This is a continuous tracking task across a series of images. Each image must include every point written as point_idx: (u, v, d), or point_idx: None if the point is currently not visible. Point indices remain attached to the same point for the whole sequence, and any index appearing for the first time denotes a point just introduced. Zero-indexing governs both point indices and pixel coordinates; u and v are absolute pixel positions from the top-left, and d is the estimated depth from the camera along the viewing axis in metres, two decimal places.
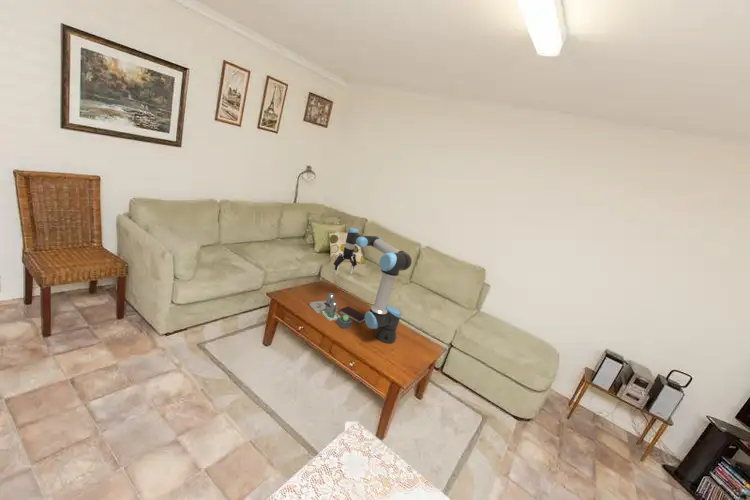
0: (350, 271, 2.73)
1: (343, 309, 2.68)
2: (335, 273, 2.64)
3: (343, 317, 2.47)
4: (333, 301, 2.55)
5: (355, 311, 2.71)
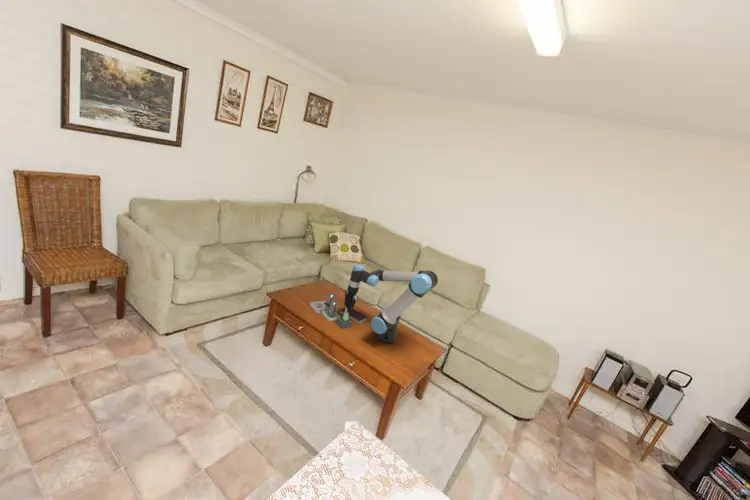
0: None
1: (343, 309, 2.68)
2: None
3: (343, 317, 2.47)
4: (333, 301, 2.55)
5: (355, 311, 2.70)
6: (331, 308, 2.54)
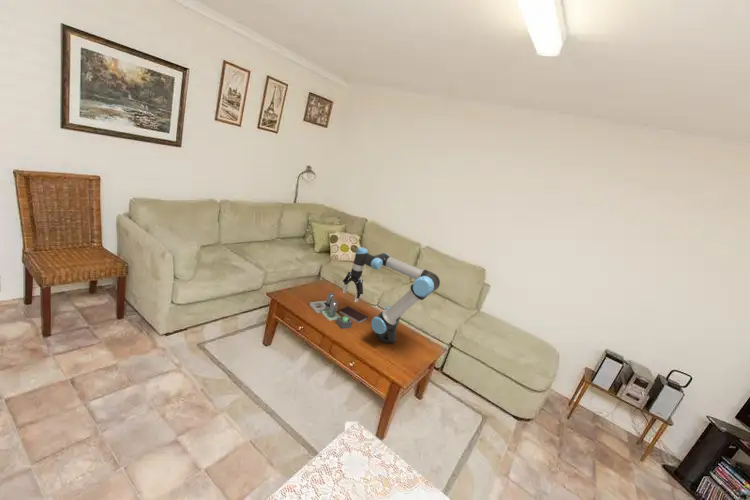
0: None
1: (343, 309, 2.68)
2: None
3: (343, 319, 2.47)
4: (333, 301, 2.55)
5: (355, 311, 2.70)
6: (331, 308, 2.54)
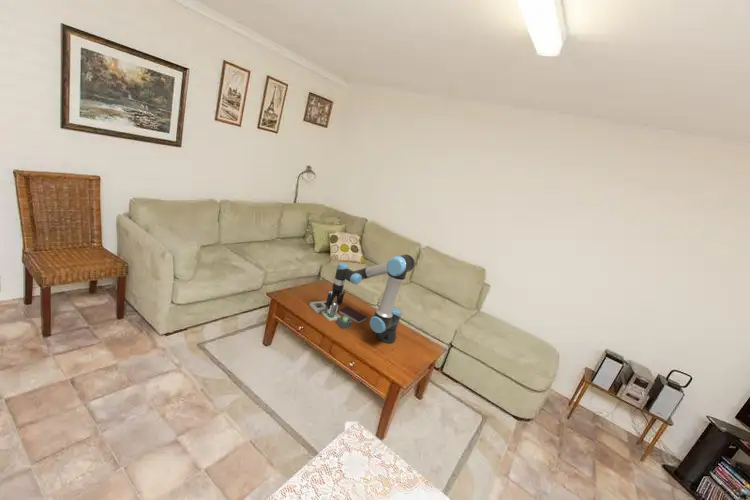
0: None
1: (342, 309, 2.68)
2: (328, 312, 2.55)
3: (343, 319, 2.47)
4: (333, 301, 2.55)
5: (355, 311, 2.70)
6: (331, 308, 2.54)
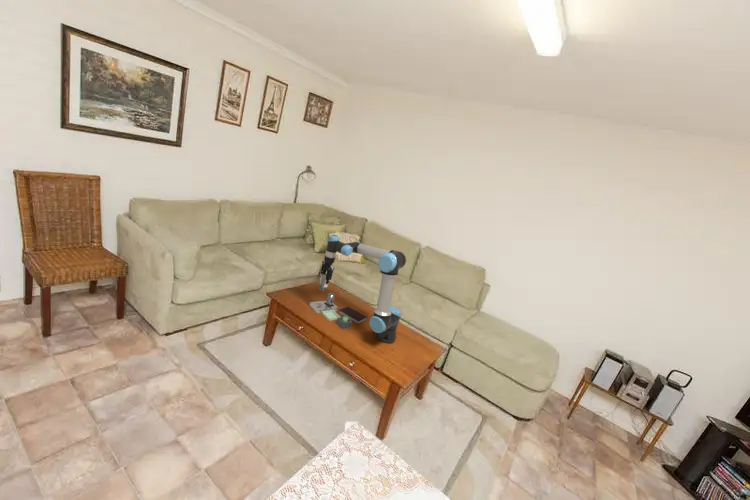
0: None
1: (342, 309, 2.68)
2: None
3: (343, 319, 2.47)
4: (326, 274, 2.57)
5: (354, 311, 2.70)
6: None
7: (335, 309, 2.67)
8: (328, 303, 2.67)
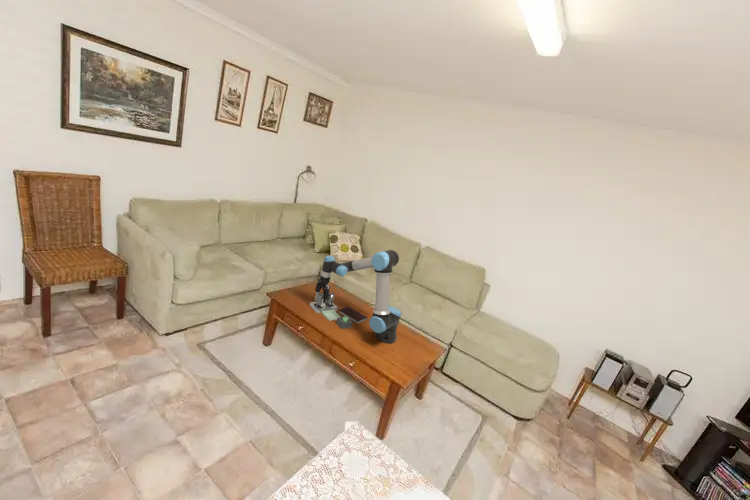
0: None
1: (342, 309, 2.68)
2: None
3: (343, 319, 2.47)
4: (321, 294, 2.62)
5: (354, 312, 2.70)
6: None
7: (335, 309, 2.67)
8: (328, 303, 2.67)
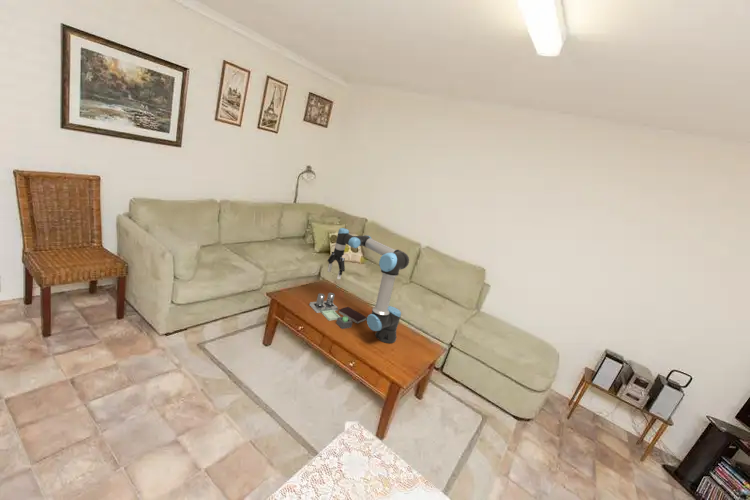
0: None
1: (342, 309, 2.68)
2: None
3: (343, 319, 2.47)
4: (321, 294, 2.62)
5: (354, 312, 2.69)
6: None
7: (335, 309, 2.67)
8: (328, 303, 2.67)
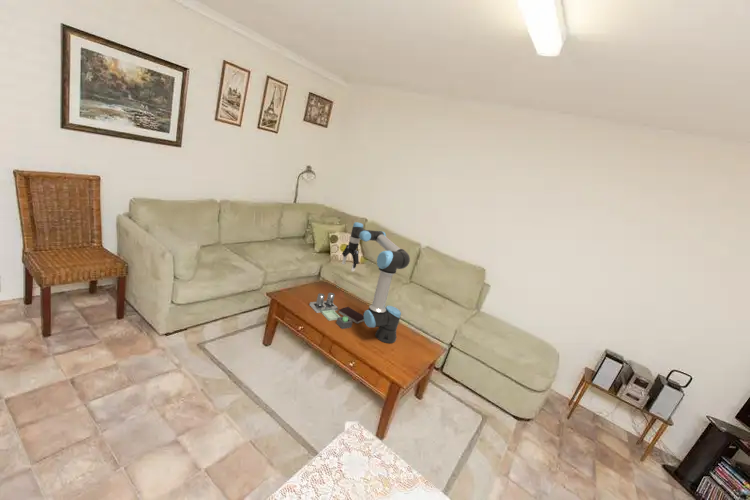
0: None
1: (342, 309, 2.68)
2: (343, 263, 2.78)
3: (343, 319, 2.47)
4: (321, 294, 2.62)
5: (354, 312, 2.69)
6: None
7: (335, 309, 2.67)
8: (328, 303, 2.67)
